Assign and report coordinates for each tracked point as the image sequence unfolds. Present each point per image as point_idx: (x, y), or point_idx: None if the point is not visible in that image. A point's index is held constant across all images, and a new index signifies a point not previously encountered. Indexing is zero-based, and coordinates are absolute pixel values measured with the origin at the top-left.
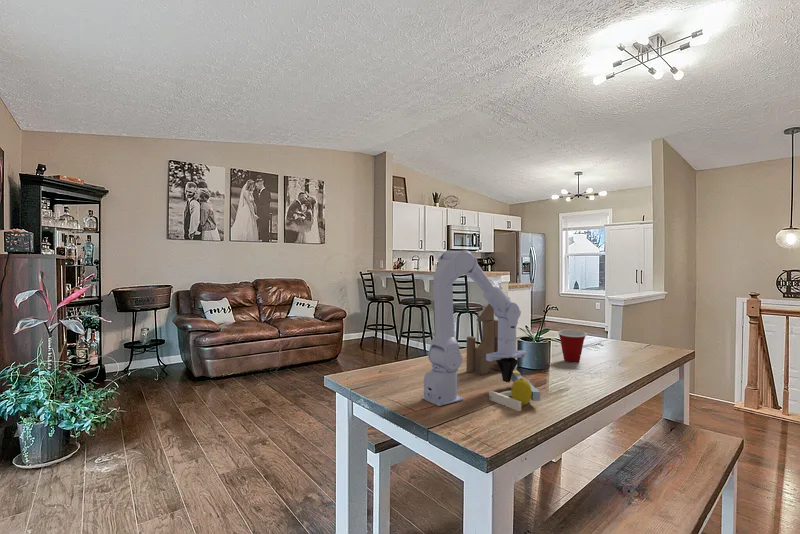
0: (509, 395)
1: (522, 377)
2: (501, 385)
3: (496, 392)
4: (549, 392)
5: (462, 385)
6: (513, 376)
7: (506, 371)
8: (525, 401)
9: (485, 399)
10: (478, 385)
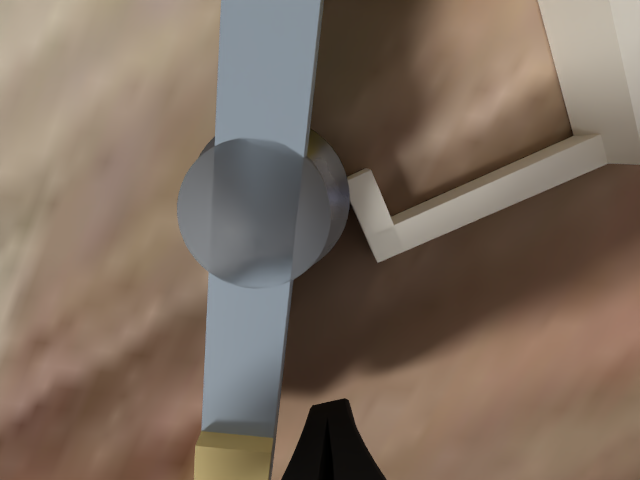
0: (394, 215)
1: (215, 350)
2: None
3: (632, 93)
4: (28, 243)
5: (619, 472)
6: (273, 444)
7: (380, 475)
8: None
9: None
10: (508, 459)
